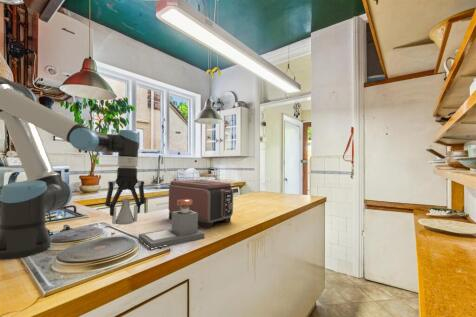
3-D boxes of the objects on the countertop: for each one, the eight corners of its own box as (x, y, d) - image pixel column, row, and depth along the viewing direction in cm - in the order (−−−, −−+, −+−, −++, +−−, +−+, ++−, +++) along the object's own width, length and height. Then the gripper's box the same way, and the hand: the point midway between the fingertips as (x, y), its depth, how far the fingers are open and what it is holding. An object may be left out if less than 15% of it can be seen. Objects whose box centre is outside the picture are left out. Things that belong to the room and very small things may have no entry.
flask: (126, 226, 94) (127, 200, 95) (110, 224, 96) (112, 199, 96) (137, 221, 101) (138, 198, 102) (122, 220, 103) (124, 197, 103)
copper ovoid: (181, 222, 96) (181, 201, 96) (174, 219, 101) (174, 199, 101) (195, 220, 100) (195, 200, 100) (187, 217, 105) (188, 198, 105)
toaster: (214, 231, 108) (215, 186, 108) (166, 218, 130) (167, 181, 130) (240, 223, 123) (240, 183, 124) (192, 213, 145) (193, 179, 145)
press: (151, 249, 84) (151, 221, 85) (138, 239, 95) (139, 214, 95) (204, 237, 98) (204, 213, 99) (188, 230, 109) (188, 208, 109)
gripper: (101, 167, 90) (98, 227, 89) (155, 168, 103) (152, 221, 102) (97, 166, 95) (94, 223, 95) (149, 167, 108) (146, 217, 108)
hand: (124, 222), depth 99 cm, fingers closed on flask, 8 cm apart
